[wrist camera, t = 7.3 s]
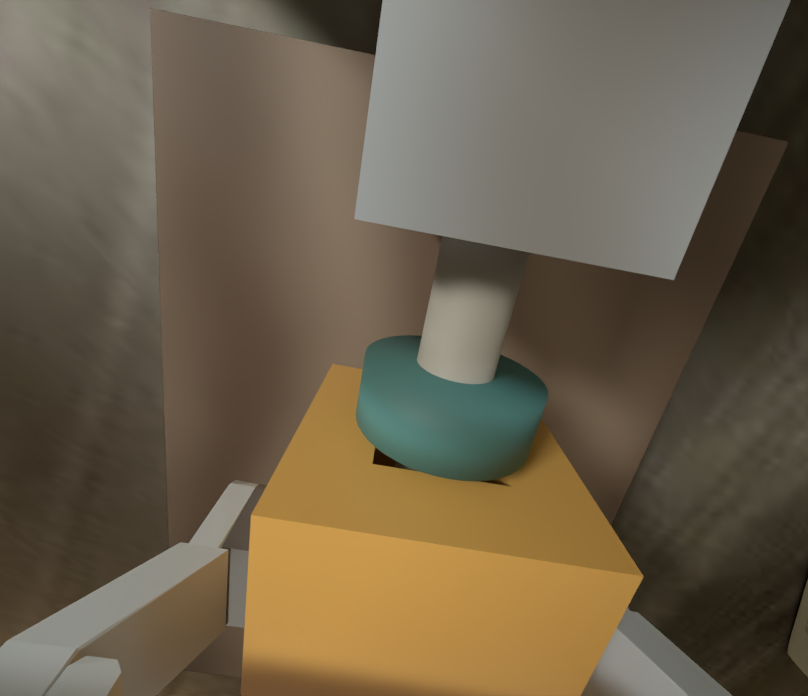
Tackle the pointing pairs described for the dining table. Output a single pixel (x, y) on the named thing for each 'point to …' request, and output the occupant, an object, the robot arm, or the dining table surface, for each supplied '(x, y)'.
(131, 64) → the dining table surface
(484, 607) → the marker sleeve
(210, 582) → the robot arm
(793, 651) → the skincare box
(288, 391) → the board
